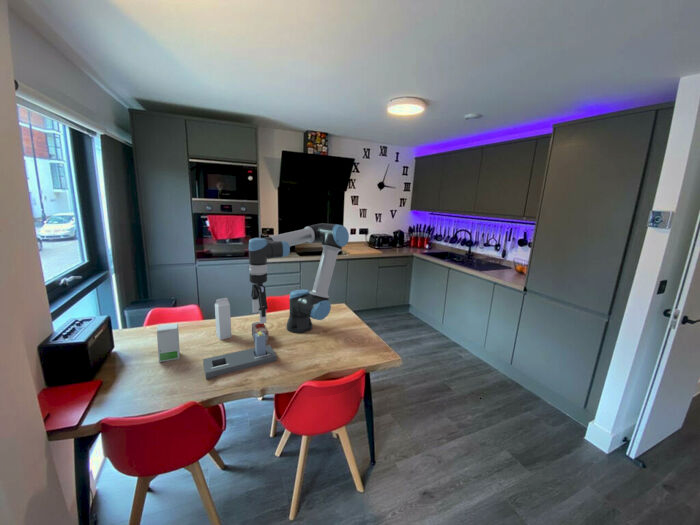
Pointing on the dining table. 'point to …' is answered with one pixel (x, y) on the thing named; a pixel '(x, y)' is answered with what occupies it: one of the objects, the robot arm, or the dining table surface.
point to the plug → (260, 344)
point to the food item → (260, 327)
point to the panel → (236, 361)
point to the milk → (223, 318)
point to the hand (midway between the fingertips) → (259, 317)
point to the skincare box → (168, 342)
